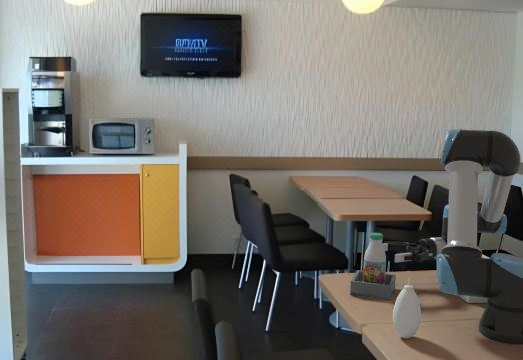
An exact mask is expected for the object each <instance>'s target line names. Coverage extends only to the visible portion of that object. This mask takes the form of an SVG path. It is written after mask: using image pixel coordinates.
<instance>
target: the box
mask: <svg viewBox="0 0 523 360" xmlns="http://www.w3.org/2000/svg"><path fill="white" fill-rule="evenodd" d="M396 276H397V275H396V274H391V273H385V285H384V284H376V283H368V282H363V270H359V269H357V270H356V271H355V273H354V274H353V277H352V278H351V280H350V287H349V288H350V291H349V296H355V297H360V298H369V299H378V300H386V301H392V299H393V296H394V292H395V289H396V281H397V280H396V279H397V277H396Z"/></svg>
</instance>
